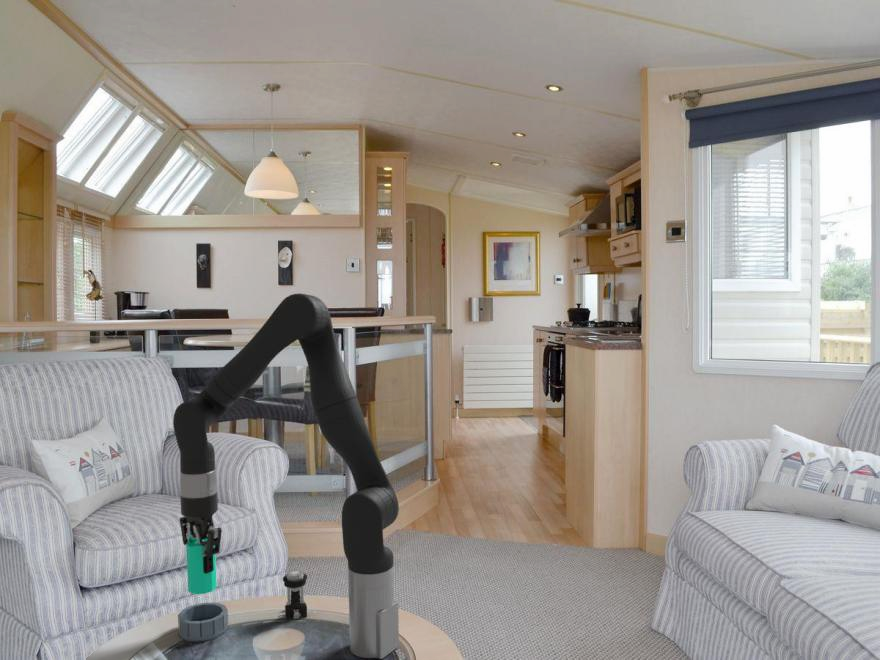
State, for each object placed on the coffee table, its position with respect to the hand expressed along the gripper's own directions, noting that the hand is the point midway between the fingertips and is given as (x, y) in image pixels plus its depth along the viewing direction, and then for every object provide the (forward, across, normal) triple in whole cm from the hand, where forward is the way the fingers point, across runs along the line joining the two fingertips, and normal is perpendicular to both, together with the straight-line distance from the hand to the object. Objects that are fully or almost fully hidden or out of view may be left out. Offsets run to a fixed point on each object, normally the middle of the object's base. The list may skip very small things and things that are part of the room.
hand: (201, 568), depth 162 cm
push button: (+14, -9, -17) cm, 24 cm away
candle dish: (+14, 0, 0) cm, 14 cm away
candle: (+5, 0, 0) cm, 5 cm away
